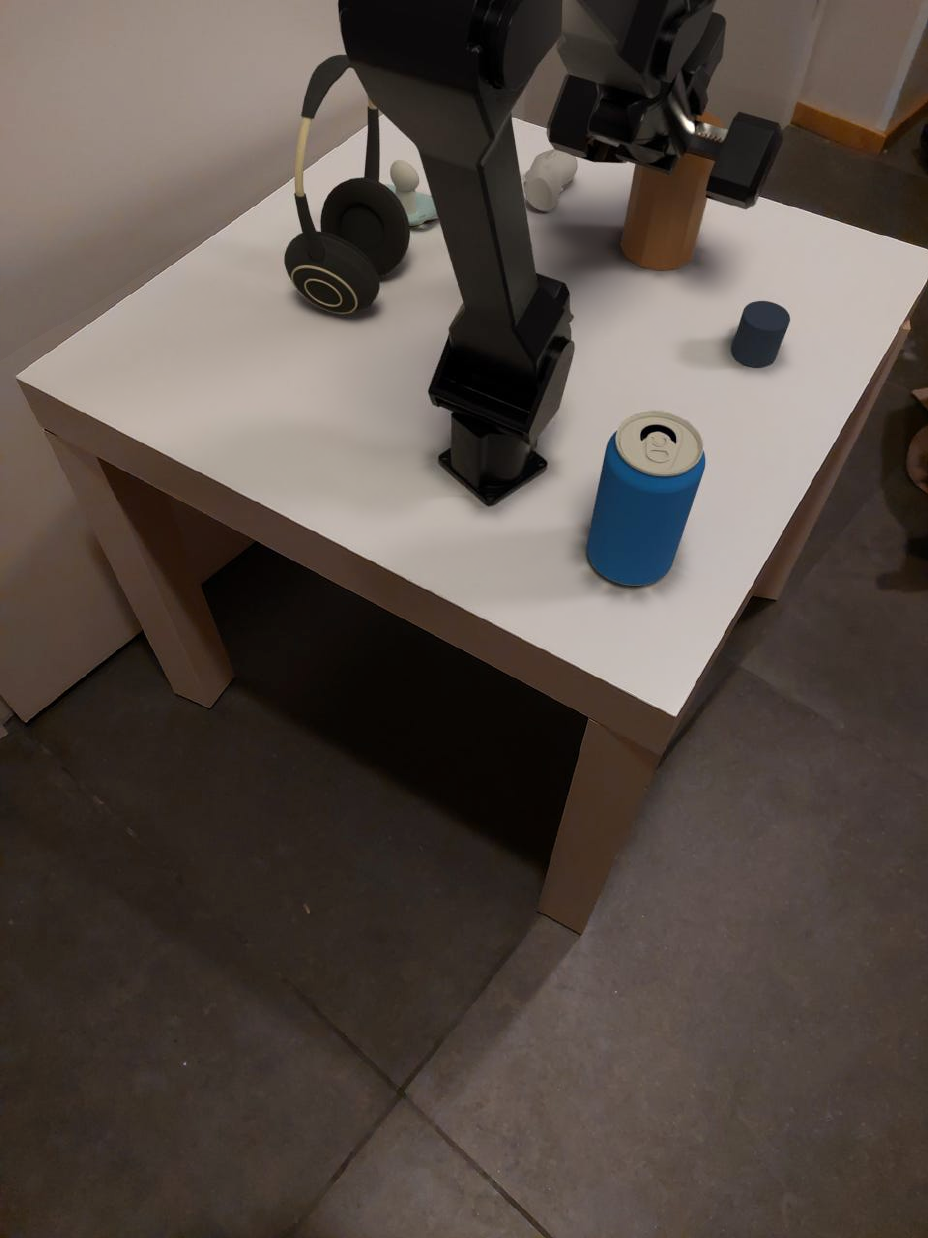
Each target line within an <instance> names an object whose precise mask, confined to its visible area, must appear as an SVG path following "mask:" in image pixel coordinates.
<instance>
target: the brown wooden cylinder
mask: <svg viewBox="0 0 928 1238" xmlns="http://www.w3.org/2000/svg"><path fill="white" fill-rule="evenodd" d="M694 120H697V121H701V122H704V123H708V124H711V125H714V126H718V127H721V128H724V125H723V123H722V121H721V120H720V119H719V118H718V117H717V116H715V115H714V114H712V113H711V112H708V111H707V110H704V112H703V115H702V116H699V115H696V116H695V119H694ZM696 135H698V132H697V134H696ZM701 137H703V134H701ZM705 138H707V135H706V136H705ZM709 139H711V140H712V136H711V137H710V138H709ZM714 140H715V141H716V138H715V139H714ZM718 142H721V139H720V140H719V141H718ZM714 163H715V161H712V160H709V159H706V158H702V157H699V156H696V155H692V154H689V153H685V154H684V155H683V156H682V157H681V158H680V159H679V160H677V163H676V165H675V168H674V170H673V173H672V175H669V174H666V173H663V172H659V171H656V170H653V169H650V168H647V167H643V166H640V165H637V164H634V170H633V175H632V181H631V186H630V191H629V198H628V203H627V208H626V213H625V220H624V226H623V231H622V237H621V243H620V248H621V249H622V252H623V254H624V256H625V258H626V259H628V260H629V261H631V262H633V263H634V264H635V265H637V266H639V267H640V268H644V269H650V270H653V271H654V270H655V271H669V270H678V269H680V268H681V267H684V266H685V265H686V264H688V263H690V262H691V261H692V259H693V256H694V253H695V249H696V245H697V241H698V237H699V233H700V229H701V225H702V221H703V218H704V214H705V209H706V206H707V201H708V198H706V197H705V196H706V194H707V193H706V187H707V183H708V179H709V175H710V173H711V170H712V168H713V166H714Z"/></svg>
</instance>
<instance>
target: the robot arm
mask: <svg viewBox="0 0 928 1238" xmlns="http://www.w3.org/2000/svg"><path fill="white" fill-rule="evenodd" d="M717 1H718V0H337V8H338V9H337V10H338V21H339V29H340V30H339V31H340V36H341V40H342V43H343V49H344V52H345V55H347V57H348V59H349V61H350V63H351V65H352V67H353V68H352V69H353V71H354V73H355V74H356V76H357V78H358V81H359V82H360V84H361V86H362V88H363V89H364V91H365V93H366V96H367V98H368V97H369V99H370V100H371V102H372V103H373V104H374V105H375V106H376V107H377V108H378V111H379V112H381V113H382V115H384V117H386V118H387V119H388V120H389V121H390V122H391V123H392V124H393V125H394V126H395V127H397V129H398V130H399V131H400V132H401V133H402V134H403V135H405V136H406V138H407V139H408V140H409V141H411V142H412V143H413V145H414V146H415V147H416V149H417V151H418V155H419V158H420V161H421V165H422V169H423V172H424V175H425V178H426V182H427V186H428V189H429V192H430V196H432V199H433V202H434V206H435V209H436V212H437V216H438V218H437V219H438V223H439V226H440V229H441V232H442V235H443V239H444V243H445V246H446V249H447V252H448V256H449V260H450V263H451V266H452V269H453V274H454V277H455V280H456V283H457V287H458V290H459V293H460V296H461V300H462V304H461V305H460V307H459V308H458V310H457V312H456V314H455V315H454V317H453V319H452V321H451V323H450V324H449V326H448V335H447V337H446V341H445V343H444V346H443V348H442V351H441V355H440V357H439V360H438V362H437V365H436V368H435V370H434V374H433V375H432V379H431V381H430V384H429V386H428V389H427V394H428V398H429V400H430V402H431V405H432V406H434V407H436V408H442V409H445V410H447V411H449V412H451V413H450V447H449V448H448V449H445V450H444V451H443V452H441V453H439V454H438V456H437V463H438V464H439V465H440V466H441V467H442V468H444V469H445V470H446V471H447V472H448V473H449V474H450V475H452V476H453V477H454V478H455V479H456V480H458V482H460V483H461V484H462V485H464V487H466V489H468V490H469V491H470V492H471V493H472V494H474V495H475V496H476V497H477V498H478V499H479V500H481V501H482V502H483V503H484V504H486V505H488V506H494V505H495V504H497V503H498V502H500V501H502V500H503V499H505V498H507V496H509V495H511V494H512V493H513V492H515V491H516V490H518V489H520V488H521V487H523V486H524V485H525V484H528V483H529V482H530V481H531V480H533V479H534V478H536V477H538V476H539V475H541V474H542V473H544V472H545V471H547V469H548V466H549V465H548V463H549V462H548V461H547V459H545V458H544V457H543V456H542V455H540V454H539V453H538V452H537V451H536V449H537V448H538V443H539V437H540V435H541V434H542V433H543V432H544V430H545V429H546V428H547V426H548V425H549V424H550V422H551V420H552V419H553V418H554V417H555V415H556V414H557V413H558V411H559V410H560V407H561V403H562V400H563V396H564V392H565V388H566V385H567V381H568V377H569V374H570V371H571V367H572V364H573V359H574V356H575V349H576V345H575V342H574V340H572V327H571V323H572V322H573V321H574V318H575V315H573V313H572V310H571V292H570V289H569V287H568V286H567V283H566V282H565V281H561V280H558V279H557V278H556V279H555V278H553V277H550V276H547V275H545V274H543V273H540V272H536V271H537V270H536V265H535V259H534V253H533V247H532V246H533V245H532V239H531V234H530V226H529V220H528V213H527V208H526V202H525V201H526V200H525V193H524V188H523V182H522V176H521V169H520V168H521V167H520V163H519V157H518V151H517V144H516V137H515V131H514V125H513V114H512V112H513V110H514V108H515V107H516V105H517V103H518V101H519V99H520V98H521V96H522V94H523V92H524V91H525V89H526V87H527V86H528V84H529V82H530V80H531V79H532V78H533V75H534V74H535V71H536V70H537V67H538V66H539V65H540V63H541V62H542V61H543V60H544V59H545V57H546V56H547V54H548V53H549V52H550V51H551V50H552V48H553V47H554V46H555V49H556V51H557V54H558V56H559V58H560V60H561V62H562V64H563V66H564V68H565V70H566V71H567V73H566V74H565V76H564V78H563V80H562V83H561V85H560V88H559V91H558V93H557V96H556V99H555V102H554V105H553V107H552V110H551V113H550V116H549V118H548V120H547V123H546V133H545V134H546V137H547V140H548V142H549V144H550V145H551V147H552V149H555V150H558V151H562V152H565V153H568V154H570V155H572V156H575V157H576V158H579V159H582V160H586V161H589V162H592V163H606V164H627V163H630V164H634V165H635V164H637V165H640V166H643V167H647V168H650V169H653V170H656V171H659V172H663V173H666V174H669V175H672V173H673V170H674V168H675V165H676V163H677V160H679V159H680V158H681V157H682V156H683V155H684V154H685V153H689V154H692V155H696V156H699V157H702V158H706V159H709V160H712V161H715V163H714V166H713V168H712V170H711V173H710V175H709V179H708V183H707V187H706V193H707V194H706V196H705V197H706V198H707V199H710V200H712V201H715V202H718V203H721V204H724V205H728V206H732V207H737V208H740V209H743V210H747V209H750V208H752V207H754V206H756V204H757V201H758V200H759V198H760V195H761V192H762V191H763V188H764V187H765V183H766V181H767V179H768V177H769V174H770V172H771V170H772V167H773V166H774V162H775V160H776V159H777V156H778V154H779V151H780V150H781V147H782V144H783V142H784V133H783V130H782V127H781V125H780V122H777V121H775V120H770V119H766V118H764V117H760V116H756V115H753V114H749V113H746V112H742V111H738V112H737V113H736V114H735V116H734V117H733V118H732V120H731V123H730V125H729V127H728V128H724V127H723V128H721V127H718V126H714V125H711V124H708V123H704V122H701V121H697V120H694V119H695V116H696V115H699V116H702V115H703V112H704V111H706V107H707V105H708V103H709V97H708V92H707V90H708V88H709V85H710V83H711V80H712V77H713V76H714V73H715V72H716V69H717V67H718V65H719V64H720V63H721V61H722V59H723V57H724V56H723V55H724V48H725V37H726V36H725V35H726V26H727V20H726V17H725V16H724V15H722V14H721V13H718V12H715V11H713V10H714V7H716V6H715V5H716V3H717ZM555 44H556V45H555ZM697 132H698V135H696V134H697ZM701 134H703V137H701ZM706 135H707V138H705V136H706ZM711 136H712V140H711V139H709V138H710V137H711ZM715 138H716V141H715V140H714V139H715ZM720 139H721V142H718V141H719V140H720Z"/></svg>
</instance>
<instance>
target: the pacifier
mask: <svg viewBox="0 0 928 1238" xmlns="http://www.w3.org/2000/svg"><path fill="white" fill-rule="evenodd" d="M389 174H390V175H389V176H390V179H391V182H392V183H393V184H388V183H386V184H384V185H385V186H387V187H388V188H389V189H390V190H391V191H393V192H394V194H395V195H396V196H397V197H398V199H399V200H400V201H401V203H402V205H403V207H404V209H405V211H406V214H407V217H408V221H409V226H410V227H414V226H420V225H422V224H424V223H425V222H426V221H433V220H436V219H438V216H437V212H436V209H435V206H434V202H433V199H432V195H429V194H426V193H424V192H423V193H422V192H419V191H416V189H418V187H419V185H420V176H419V174H418V172H417V170H416V169H415V167H413V165H412V164H410V163H409V162H408V161H405V160H402V159H397V160H394V161H393V162H392V164H391V165H390V168H389Z"/></svg>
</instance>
